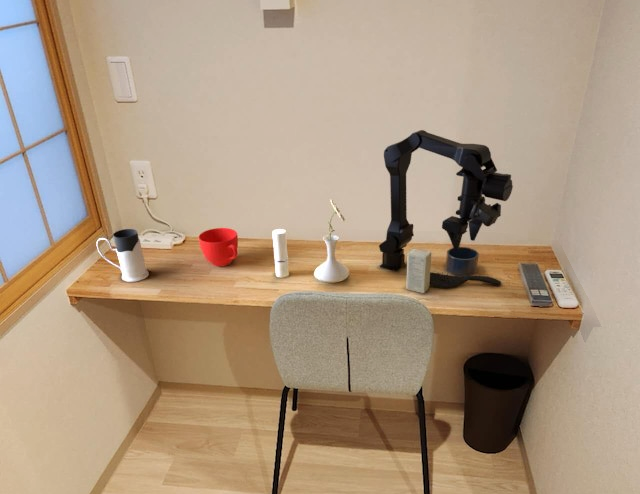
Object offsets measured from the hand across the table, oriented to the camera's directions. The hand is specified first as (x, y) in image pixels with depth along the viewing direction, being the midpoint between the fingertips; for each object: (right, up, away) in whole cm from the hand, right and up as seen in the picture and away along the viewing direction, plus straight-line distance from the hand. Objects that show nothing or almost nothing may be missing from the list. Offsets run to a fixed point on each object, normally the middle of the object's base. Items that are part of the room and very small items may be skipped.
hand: (464, 245), depth 162 cm
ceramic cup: (-76, -2, +27) cm, 80 cm away
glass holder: (-107, -7, +21) cm, 109 cm away
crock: (+4, -4, +18) cm, 19 cm away
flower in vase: (-39, -7, +16) cm, 43 cm away
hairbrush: (+1, -10, +10) cm, 14 cm away
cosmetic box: (-13, -12, +8) cm, 19 cm away
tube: (-55, -6, +19) cm, 59 cm away
